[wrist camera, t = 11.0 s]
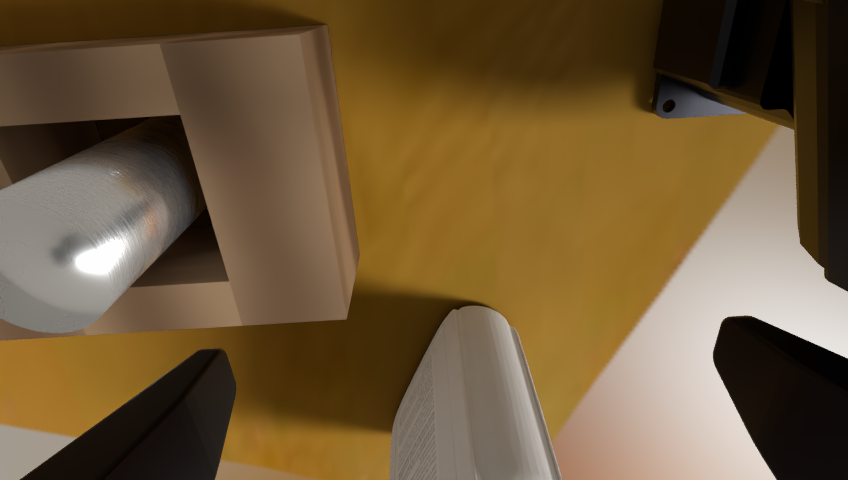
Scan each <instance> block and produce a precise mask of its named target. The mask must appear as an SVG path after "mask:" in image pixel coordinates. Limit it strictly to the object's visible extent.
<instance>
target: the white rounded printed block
mask: <svg viewBox="0 0 848 480" xmlns="http://www.w3.org/2000/svg"><path fill="white" fill-rule="evenodd" d="M390 480H562V477H561V473H560V470H559V466H558V463H557V460H556V456H555V453H554V450H553V446H552V443H551V440H550V436H549V433H548V429H547V426H546V423H545V419H544V416H543V412H542V409H541V406H540V402H539V399H538V396H537V393H536V389H535V387H534V383H533V380H532V376H531V373H530V370H529V366H528V363H527V360H526V356H525V354H524V351H523V347H522V344H521V341H520V338H519V335H518V333H517V331H516V329H515V328H514V327H512V326H509V325H508V322H507V321H506V319H505V318H504V317H503V316H502V315H501V314H500V313H498V312H497V311H495V310H493V309H490V308H487V307H483V306H466V307H462V308H460V309H459V310H456V309H453V310H452V311H451V312H450V313H449V314H448V316H447V317H446V318H445V320H444V321H443V322H442V324H441V325H440V327H439V329H438V330H437V332H436V334H435V336H434V338H433V339H432V341H431V343H430V345H429V347H428V349H427V351H426V353H425V355H424V357H423V359H422V361H421V363H420V365H419V367H418V369H417V371H416V373H415V375H414V376H413V379H412V381H411V383H410V385H409V387H408V389H407V391H406V393H405V395H404V397H403V399H402V402H401V404H400V406H399V408H398V411H397V414H396V417H395V420H394V424H393V429H392V436H391V456H390Z"/></svg>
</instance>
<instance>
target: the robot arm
mask: <svg viewBox="0 0 848 480" xmlns="http://www.w3.org/2000/svg"><path fill="white" fill-rule="evenodd" d="M654 68H655V69H656V71H657V77H656V83H655V89H654V95H653V102H652V110H653V112H654V114H656V115H657V116H659V117H661V118H666V119H668V118H684V117H699V116H715V115H730V114H746V113H748V114H751V115H754V116H757V117H759V118H762V119H765V120H768V121H771V122H774V123H776V124H779V125H782V126H785V127H788V128H791V129H793V130H794V132H795V162H796V189H797V219H798V230H799V237H800V244H801V245H802V246H803V247H804V248H805V249H806V251H807V252H808V253H809V254H810V255H811V256H812V257H813V258H814V260H815V261H816V262H817V263H818V264H819V265H821V266H822V267H824V275H825V278H826V279H827V280H828V281H829V282H831V283H833V284H835V285H837V286H838V287H840V288H843V289H844V290H846V291H848V0H664V2H663V8H662V14H661V21H660V27H659V34H658V40H657V47H656V53H655V60H654ZM667 100H670V102H671V104H670V106H669V108H667V109H666V110H663V107H662V106H663V104H664V103H665V102H666V101H667ZM713 360H714V364H715V367H716V369H717V371H718V373H719V375H720V377H721V379H722V381H723V383H724V385H725V387H726V389H727V391H728V393H729V395H730V397H731V399H732V401H733V403H734V405H735V407H736V409H737V411H738V413H739V415H740V417H741V419H742V421H743V423H744V425H745V427H746V429H747V430H748V433H749V434H750V436H751V438H752V440H753V442H754V444H755V446H756V447H757V449H758V450H759V452H760V454H761V456H762V457H763V459H764V460H765V462H766V464H767V465H768V467H769V468H770V470H771V471H772V473H773V475H774V476H775V478H776V479H777V480H848V359H847V358H845V357H843V356H840V355H838V354H836V353H834V352H831V351H829V350H827V349H825V348H823V347H820V346H818V345H815V344H813V343H811V342H809V341H806V340H804V339H802V338H800V337H798V336H795V335H793V334H791V333H789V332H786V331H784V330H782V329H779V328H777V327H775V326H773V325H770V324H768V323H766V322H764V321H761V320H759V319H757V318H755V317H752V316H734V317H727V318H725V319H724V320H723V321H722V323H721V327H720V330H719V333H718V337H717V340H716V344H715V347H714V351H713ZM235 395H236V382H235V379H234V376H233V373H232V369H231V366H230V363H229V360H228V357H227V355H226V352H225V351H224V350H222V349H219V348H218V349H203V350H199V351H197V352H196V353H194V354H193V355H191V356H190V357H189V358H187V359H186V360H184V361H183V362H182V363H180V364H179V365H178V366H176V367H175V368H173V369H172V370H171V371H169V372H168V373H167V374H165V375H164V376H162V377H161V378H160V379H158V380H157V381H155V382H154V383H153V384H151V385H150V386H149V387H147V388H146V389H144V390H143V391H142V392H140V393H139V394H138V395H136V396H135V397H133V398H132V399H131V400H129V401H128V402H126V403H125V404H124V405H122V406H121V407H120V408H118V409H117V410H115V411H114V412H113V413H111V414H110V415H109V416H107V417H106V418H104V419H103V420H102V421H100V422H99V423H97V424H96V425H95V426H93V427H92V428H91V429H89V430H88V431H86V432H85V433H84V434H82V435H81V436H80V437H78V438H77V439H75V440H74V441H73V442H71V443H70V444H68V445H67V446H66V447H64V448H63V449H62V450H60V451H59V452H57V453H56V454H55V455H53V456H52V457H50V458H49V459H48V460H46V461H45V462H44V463H42V464H41V465H39V466H38V467H37V468H35V469H34V470H33V471H31V472H30V473H28V474H27V475H26V476H24V477H23V478H21V479H20V480H215V477H216V474H217V470H218V466H219V463H220V459H221V454H222V450H223V446H224V442H225V438H226V433H227V429H228V425H229V421H230V417H231V413H232V408H233V404H234V400H235Z"/></svg>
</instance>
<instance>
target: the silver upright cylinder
mask: <svg viewBox="0 0 848 480" xmlns="http://www.w3.org/2000/svg"><path fill="white" fill-rule="evenodd" d="M206 208H207V204H206V201H205V197H204V194H203V190H202V187H201V184H200V180H199V177H198V173H197V170H196V167H195V163H194V160H193V156H192V153H191V150H190V146H189V143H188V139H187V136H186V133H185V129H184V126H183V122H182V119H181V116H180V115H167V116H154V117H152V118H150V119H148V120H146V121H144V122H142V123H140V124H138V125H136V126H134V127H131V128H129V129H127V130H125V131H123V132H121V133H119V134H117V135H115V136H113V137H111V138H108V139H106V140H104V141H102V142H100V143H98V144H96V145H94V146H92V147H90V148H88V149H85V150H83V151H81V152H79V153H77V154H75V155H73V156H71V157H69V158H67V159H65V160H62V161H60V162H58V163H56V164H54V165H52V166H50V167H48V168H46V169H44V170H42V171H40V172H37V173H35V174H33V175H31V176H29V177H27V178H25V179H23V180H21V181H19V182H17V183H14V184H12V185H10V186H8V187H6V188H4V189H2V190H0V318H1V319H3V320H5V321H7V322H9V323H11V324H14V325H17V326H19V327H22V328H26V329H30V330H34V331H39V332H46V333H66V332H72V331H77V330H80V329H83V328H85V327H87V326H89V325H91V324H93V323H94V322H95V321H96V320H98V319H99V318H100V317H101V316H102V315H103V314H104V313H105V312H106V311H107V310H108V309H109V308H110V307H111V305H112V304H113V303H114V302H115V301H116V300H117V299H118V298H119V297H120V296H121V295H122V294H123V293H124V292H125V291H126V290H127V289H128V288H129V287H130V286H131V285H132V284H133V283H134V282H135V281H136V280H137V279H138V278H139V277H140V276H141V275H142V274H143V273H144V272H145V271H146V270H147V269H148V268H149V266H150V265H151V264H152V263H153V262H154V261H155V260H156V259H157V258H158V257H159V256H160V255H161V254H162V253H163V252H164V251H165V250H166V249H167V248H168V247H169V246H170V245H171V244H172V243H173V242H174V241H175V240H176V239H177V238H178V237H179V236H180V235H181V234H182V233H183V232H184V231H185V230H186V228H187V227H188V226H189V225H190V224H191V223H192V222H193V221H194V220H195V219H196V218H197V217H198V216H199V215H200V214H201V213H202V212H203V211H204V210H205V209H206Z"/></svg>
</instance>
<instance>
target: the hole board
mask: <svg viewBox="0 0 848 480" xmlns="http://www.w3.org/2000/svg"><path fill="white" fill-rule="evenodd" d="M167 115H180V116H181V119H182V122H183V126H184V129H185V133H186V136H187V139H188V143H189V146H190V150H191V153H192V156H193V160H194V163H195V167H196V170H197V173H198V177H199V180H200V184H201V187H202V190H203V194H204V197H205V201H206V204H207V207H208V211H209V214H210V218H211V221H212V224H213V226H204V227H188V228H186V230H185V231H184V232H183V233H182V234H181V235H180V236H179V237H178V238H177V239H176V240H175V241H174V242H173V243H172V244H171V245H170V246H169V247H168V248H167V249H166V250H165V251H164V252H163V253H162V254H161V255H160V256H159V257H158V258H157V259H156V260H155V261H154V262H153V263H152V264H151V265H150V266H149V268H148V269H147V270H146V271H145V272H144V273H143V274H142V275H141V276H140V277H139V278H138V279H137V280H136V281H135V282H134V283H133V284H132V285H131V286H130V287H129V288H128V289H127V290H126V291H125V292H124V293H123V294H122V295H121V296H120V297H119V298H118V299H117V300H116V301H115V302H114V303H113V304H112V305H111V307H110V308H109V309H108V310H107V311H106V312H105V313H104V314H103V315H102V316H101V317H100V318H99V319H98V320H96V321H95V322H94V323H93V324H91V325H89V326H87V327H85V328H83V329H80V330H77V331H72V332H66V333H46V332H39V331H34V330H30V329H26V328H22V327H19V326H17V325H14V324H11V323H9V322H7V321H5V320H3V319H1V318H0V341H1V340H17V339H34V338H50V337H66V336H83V335H99V334H115V333H131V332H148V331H164V330H180V329H197V328H213V327H229V326H246V325H262V324H278V323H295V322H311V321H327V320H344V319H347V315H348V310H349V306H350V301H351V296H352V291H353V286H354V281H355V276H356V271H357V266H358V261H359V256H360V254H359V247H358V239H357V232H356V225H355V218H354V211H353V204H352V197H351V189H350V182H349V175H348V168H347V161H346V154H345V147H344V139H343V132H342V125H341V118H340V111H339V104H338V96H337V89H336V82H335V75H334V68H333V61H332V54H331V46H330V39H329V32H328V25H314V26H299V27H284V28H269V29H254V30H239V31H224V32H209V33H194V34H179V35H164V36H149V37H134V38H119V39H104V40H89V41H74V42H59V43H44V44H29V45H14V46H0V190H2V189H4V188H6V187H8V186H10V185H12V184H14V183H17V182H19V181H21V180H23V179H25V178H27V177H29V176H31V175H33V174H35V173H37V172H40V171H42V170H44V169H46V168H48V167H50V166H52V165H54V164H56V163H58V162H60V161H62V160H65V159H67V158H69V157H71V156H73V155H75V154H77V153H79V152H81V151H83V150H85V149H88V148H90V147H92V146H94V145H96V144H98V143H100V142H102V139H101V136H100V133H99V131H98V128H97V126H96V123H95V120H105V119H121V118H136V117H151V116H167Z"/></svg>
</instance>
